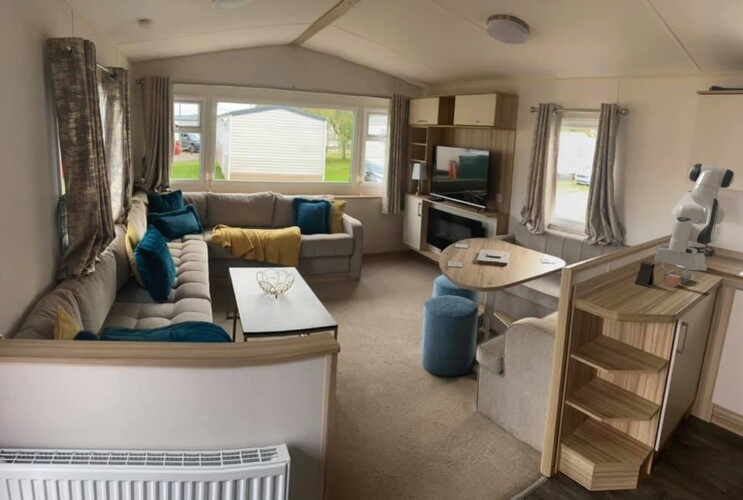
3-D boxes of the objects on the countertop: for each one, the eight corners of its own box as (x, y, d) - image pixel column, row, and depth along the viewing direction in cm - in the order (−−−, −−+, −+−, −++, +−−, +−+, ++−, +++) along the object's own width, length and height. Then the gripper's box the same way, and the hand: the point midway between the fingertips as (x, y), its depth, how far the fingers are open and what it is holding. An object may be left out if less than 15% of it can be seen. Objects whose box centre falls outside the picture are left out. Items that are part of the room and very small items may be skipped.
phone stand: (645, 286, 296) (649, 264, 293) (634, 283, 300) (638, 262, 298) (653, 284, 301) (657, 263, 298) (642, 281, 306) (646, 260, 303)
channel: (671, 275, 323) (672, 269, 322) (690, 279, 316) (691, 273, 315) (663, 280, 311) (664, 273, 310) (683, 284, 304) (684, 277, 303)
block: (668, 282, 307) (670, 274, 306) (678, 285, 304) (680, 276, 303) (663, 285, 302) (665, 276, 301) (673, 287, 298) (675, 278, 297)
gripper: (655, 244, 303) (651, 269, 306) (697, 251, 290) (692, 277, 293) (658, 243, 307) (654, 267, 310) (700, 250, 295) (695, 275, 297)
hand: (673, 272), depth 302 cm, fingers open, 8 cm apart
